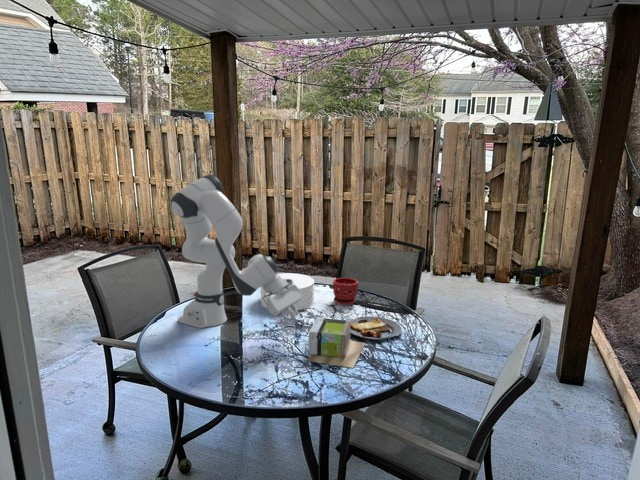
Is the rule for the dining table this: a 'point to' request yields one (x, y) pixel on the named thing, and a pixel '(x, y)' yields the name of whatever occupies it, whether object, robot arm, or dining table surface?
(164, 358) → the dining table surface
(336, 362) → the cloth mat
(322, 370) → the dining table surface
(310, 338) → the tea box
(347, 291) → the plant pot
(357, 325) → the food plate
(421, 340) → the dining table surface
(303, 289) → the plate stack
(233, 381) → the dining table surface
